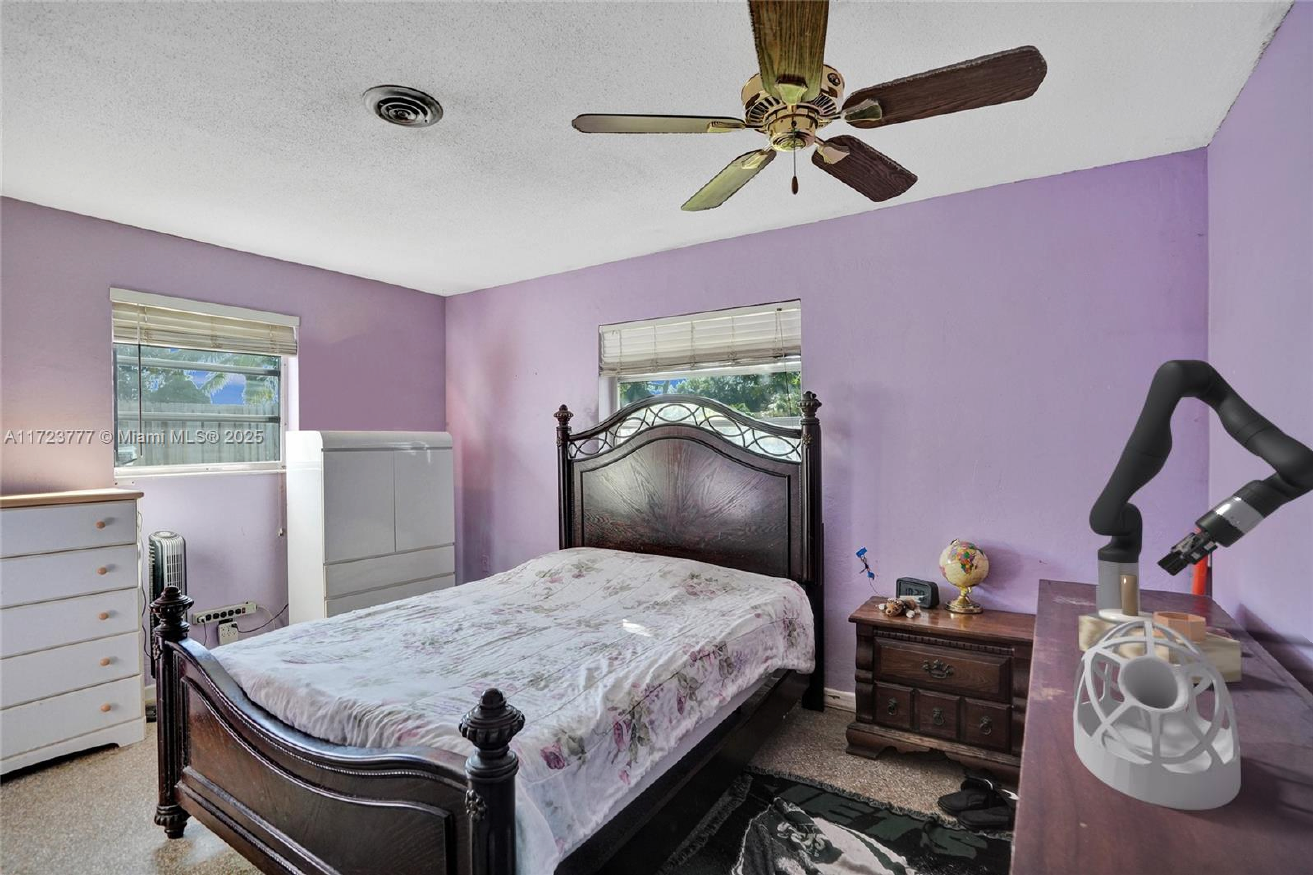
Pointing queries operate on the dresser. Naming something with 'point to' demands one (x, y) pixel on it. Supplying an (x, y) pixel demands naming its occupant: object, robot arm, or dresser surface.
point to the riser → (1215, 647)
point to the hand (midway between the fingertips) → (1164, 569)
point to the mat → (1096, 615)
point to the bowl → (1182, 624)
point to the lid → (1127, 604)
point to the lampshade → (1156, 723)
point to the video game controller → (1220, 633)
